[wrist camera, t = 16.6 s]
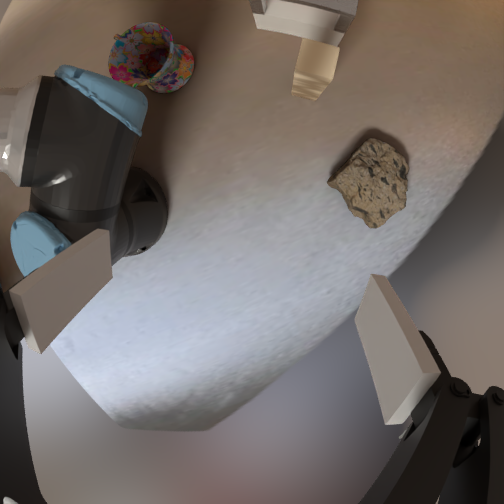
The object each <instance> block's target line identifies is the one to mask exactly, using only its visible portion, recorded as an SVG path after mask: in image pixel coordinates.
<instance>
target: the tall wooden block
mask: <svg viewBox="0 0 504 504" xmlns="http://www.w3.org/2000/svg"><path fill="white" fill-rule="evenodd" d="M339 50H340V48H339V47H336V46H333V45H329V44H326V43H322V42H318V41H315V40H311V39H307V38H303V39H302V43H301V47H300V51H299V55H298V59H297V63H296V67H295V73H294V80H293V87H292V95H294V96H298V97H302V98H306V99H309V100H313V101H316V99H317V98H318V97H319V96H320V94H321V93H322V92H323V91H324V90H325V88H326V87H327V86H328V85H329V83H330V82H331V81H332V80H333V76H334V72H335V68H336V63H337V59H338V55H339Z"/></svg>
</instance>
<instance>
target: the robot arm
mask: <svg viewBox="0 0 504 504" xmlns="http://www.w3.org/2000/svg"><path fill="white" fill-rule="evenodd" d="M54 75H55V77H49V76H41V75H39V76H38V77H36V78H35V79H33V80H32V81H31V82H29V83H28V84H27V85H26V86H24V87H22V88H2V87H0V172H5V173H6V174H8V176H9V177H10V178H11V180H12V181H13V182H14V184H15V185H16V186H17V187H31V195H30V206H29V211H25V212H23V213H21V214H20V215H19V217H18V218H17V219H16V221H14V223H13V225H12V228H11V246H12V251H13V254H14V257H15V260H16V262H17V265H18V267H19V268H20V270H21V272H22V273H23V275H24V278H23V280H20V281H19V282H17V283H16V284H15V285H13V286H12V287H11V288H10V289H8V290H7V291H6V292H5V293H3V291H2V288H1V284H0V504H47V502H46V501H45V500H44V498H43V496H42V494H41V492H40V490H39V486H38V482H37V478H36V474H35V470H34V465H33V461H32V456H31V451H30V446H29V440H28V433H27V427H26V418H25V408H24V396H23V376H22V345H21V343H20V341H21V340H22V339H23V338H24V337H25V340H26V342H27V345H28V347H29V348H30V349H32V350H34V351H36V352H38V353H39V354H42V352H43V351H44V350H45V349H46V348H47V347H48V346H49V345H50V343H51V342H52V341H53V340H54V339H55V338H56V337H57V335H58V334H59V333H60V332H61V331H62V330H63V329H64V328H65V327H66V326H67V324H68V323H69V322H70V321H71V320H72V319H73V318H74V317H75V316H76V315H77V314H78V313H79V312H80V311H81V309H82V308H83V307H84V306H85V305H86V304H87V303H88V302H89V301H90V300H91V299H92V298H93V297H94V296H95V295H96V294H97V293H98V292H99V291H100V290H101V289H102V288H103V287H104V286H105V285H106V284H107V283H108V282H109V281H110V280H111V279H112V278H113V276H112V266H113V265H114V264H115V263H116V262H117V261H118V260H120V259H121V258H122V257H127V256H132V255H137V254H140V253H143V252H145V251H147V250H148V249H149V248H151V247H152V246H153V245H154V244H155V243H156V242H157V241H158V240H159V239H160V237H161V236H162V234H163V232H164V230H165V227H166V224H167V216H168V211H167V203H166V199H165V196H164V194H163V191H162V189H161V188H160V186H159V184H158V183H157V182H156V181H155V179H154V178H153V177H152V176H151V175H149V174H148V173H147V172H145V171H143V170H141V169H139V168H136V167H131V163H132V159H133V156H134V153H135V150H136V147H137V143H138V140H139V137H141V136H142V131H141V130H142V126H143V122H144V119H145V116H146V113H147V109H148V101H147V98H146V96H145V95H144V94H143V93H142V92H141V91H139V90H137V89H135V88H133V87H131V86H129V85H126V84H124V83H122V82H119V81H117V80H114V79H112V78H109V77H106V76H103V75H100V74H97V73H94V72H91V71H88V70H84V69H80V68H77V67H74V66H70V65H61V66H60V67H59V68H58V69H57V70H56V71H55V73H54ZM355 324H356V326H357V330H358V333H359V336H360V339H361V342H362V345H363V348H364V351H365V354H366V358H367V361H368V364H369V368H370V371H371V374H372V378H373V381H374V385H375V388H376V392H377V395H378V399H379V403H380V406H381V410H382V414H383V418H384V422H385V424H386V425H389V424H401V423H403V422H404V421H405V420H406V419H407V417H408V416H409V415H410V414H411V416H412V420H413V422H412V424H411V425H410V426H409V427H408V428H407V429H406V430H405V431H404V432H403V434H402V435H401V436H400V437H399V438H400V439H401V438H402V437H403V438H402V439H401V441H400V443H399V445H398V446H397V448H396V450H395V451H394V453H393V455H392V456H391V458H390V459H389V461H388V463H387V464H386V466H385V467H384V469H383V470H382V472H381V473H380V475H379V476H378V478H377V479H376V480H375V482H374V483H373V485H372V486H371V488H370V489H369V490H368V492H367V493H366V494H365V496H364V497H363V498H362V500H361V501H360V502H359V503H358V504H435V503H436V502H437V499H438V497H439V495H440V497H439V501H438V504H504V391H503V389H501V388H499V387H496V386H491V387H489V389H488V390H487V391H486V392H485V394H484V395H479V394H474V393H472V392H471V389H470V388H469V386H468V385H467V384H466V383H465V382H464V381H463V380H461V379H459V378H456V377H451V375H450V373H449V371H448V369H447V367H446V365H445V364H444V362H443V360H442V358H441V356H440V355H439V353H438V351H437V349H436V348H435V346H434V344H433V342H432V340H431V339H430V338H429V337H428V336H427V335H426V334H425V333H424V332H423V331H418V330H417V328H416V326H415V324H414V323H413V321H412V319H411V317H410V316H409V314H408V312H407V311H406V309H405V307H404V306H403V304H402V303H401V301H400V299H399V298H398V296H397V294H396V293H395V291H394V290H393V288H392V286H391V285H390V283H389V282H388V280H387V279H386V277H385V276H382V275H376V274H371V276H370V279H369V282H368V285H367V287H366V290H365V293H364V296H363V299H362V301H361V304H360V307H359V309H358V312H357V315H356V317H355ZM480 438H481V441H480V444H479V446H478V440H479V439H480Z"/></svg>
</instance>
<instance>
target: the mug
mask: <svg viewBox="0 0 504 504" xmlns="http://www.w3.org/2000/svg"><path fill="white" fill-rule="evenodd" d="M114 39H115V40H117V41H116V42H115V44H114V46H113V47H112V50H111V52H110V56H109V62H108V66H109V72H110V74H111V76H112V78H113V79H114V80H117V81H119V82H122V83H124V84H126V85H129V86H131V87H133V88H135V87H141V86H144V85H147V86H148V87H149V88H150V89H151V90H153V91H155V92H158V93H169V92H173V91H175V90H177V89H179V88H181V87H182V86H183V85H184V84H185V83H186V82H187V81H188V80H189V78H190V77H191V75H192V73H193V69H194V58H193V55H192V53H191V52H190V51H189V49H187V48H186V47H185V46H183V45H180V44H174V40H173V37H172V34H171V33H170V31H169V30H168V29H167V28H166V27H165V26H163V25H161V24H159V23H154V22H146V23H141V24H138V25H135V26H133V27H131V28H130V29H128V30H127V31H125V32H124V33H123V34H122V35H121V36H120V35H118V34H116V35H115V36H114Z"/></svg>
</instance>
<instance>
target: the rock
mask: <svg viewBox="0 0 504 504" xmlns="http://www.w3.org/2000/svg"><path fill="white" fill-rule="evenodd" d="M408 172H409V167H408V165H407V163H406V162H405V158H404V156H403V155H402V154H400V153H399V152H398V151H397V150H396V149H395V148H393V147H392V146H390V145H389V144H388V143H385V142H382V141H380V140H376V139H374V138H370V139H368V140H366V141H365V142H364V143H363V144H362V146H361V147H359V148H358V149H356V150H355V151H354V152H353V153H352V154H351V158H350V159H349V160H348V161H347V162H346V163H345V164H344V165H343V166H342V167H341V168H340V169H339V170H338V171H337V172H336V173H334V174H333V175H332V176H331V177H330V178H329V180H328V181H327V184H328V185H329V186H330V187H332V188H335V189H337V190H338V191H339V192H340V193H342V196H343V198H344V200H345V202H346V204H347V206H348V209H349V210H350V211H351V212H352V214H353V215H354V216H355V217H356V216H357V217H359V218H362V219H363V220H364V222H365V224H366V225H367V226H368V227H369V228H378V227H380V226H381V225H383V224H385V222H386V221H387V220H388V219H389V218H390V217H391V216H392V215H394V214H395V213H396V212H398V211H400V210H402V209H404V208H405V206H406V205H405V204H406V191H407V182H408V180H407V178H406V175H407V174H408Z"/></svg>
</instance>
